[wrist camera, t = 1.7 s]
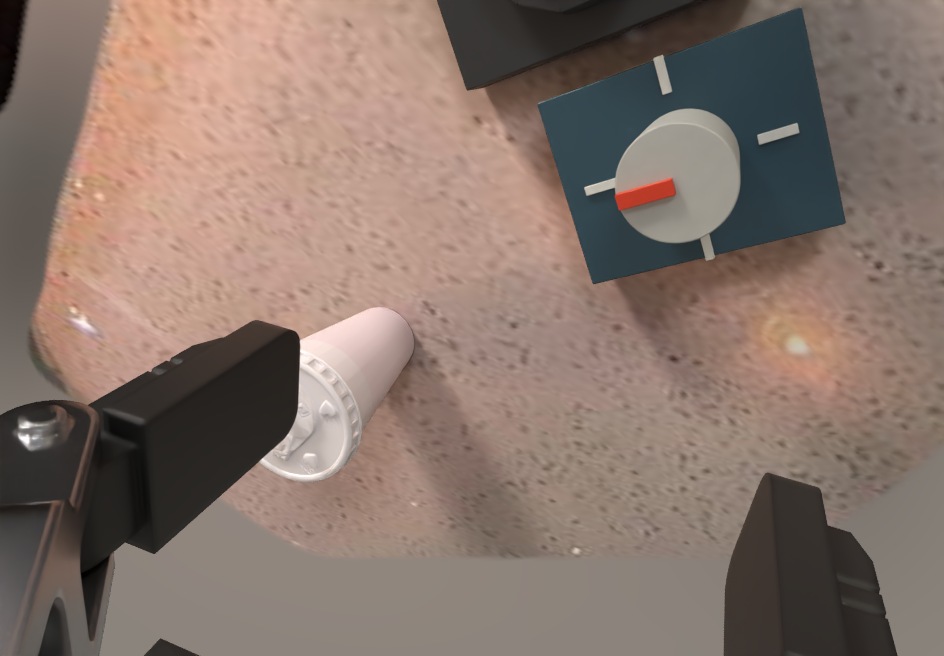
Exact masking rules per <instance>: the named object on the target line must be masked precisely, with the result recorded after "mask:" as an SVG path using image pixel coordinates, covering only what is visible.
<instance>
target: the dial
mask: <svg viewBox="0 0 944 656" xmlns="http://www.w3.org/2000/svg"><path fill="white" fill-rule="evenodd" d="M740 183H741V181H740V151H739V146H738V142H737V139H736V137H735V135H734V133H733V132H732V130H731V129H730V127H729V126H728V125H727V124H726V123H725V122H724V121H723V120H722V119H720V118H719V117H717V116H716V115H714V114H712V113H710V112H707V111H704V110H700V109H680V110H676V111H672V112H669V113H667V114H665V115H663V116H661V117H659V118H658V119H657V120H655V121H654V122H653V123H652V124H651V125H649V126H648V127H647V128H646V129H645V130H644V131H643V132H642V133H641V134H640V135H639V136H638V137H637V138H636V139H635V140H634V141H633V142H632V144H631V145H630V146H629V147H628V148H627V150H626V151H625V153H624V154H623V156H622V158H621V160H620V162H619V165H618V168H617V172H616V177H615V194H616V195H615V199H616V202H617V205H618V209H619V211H621V212H622V214H623V216H624V217H625V219H626V220H627V221H628V222H629V224H630V225H631V226H632V227H633V228H635V229H636V230H637V231H638V232H640V233H641V234H643V235H644V236H646V237H648V238H651V239H653V240H656V241H659V242H665V243H685V242H691V241H694V240H697V239H700V238H702V237H704V236H706V235H708V234H710V233H711V232H713V231H714V230H715V229H717V228H718V227H719V226H720V225H721V224H722V223H723V222H724V221H725V220H726V219H727V217H728V216H729V215H730V213H731V212H732V210H733V208H734V206H735V204H736V201H737V199H738V195H739V191H740Z"/></svg>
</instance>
